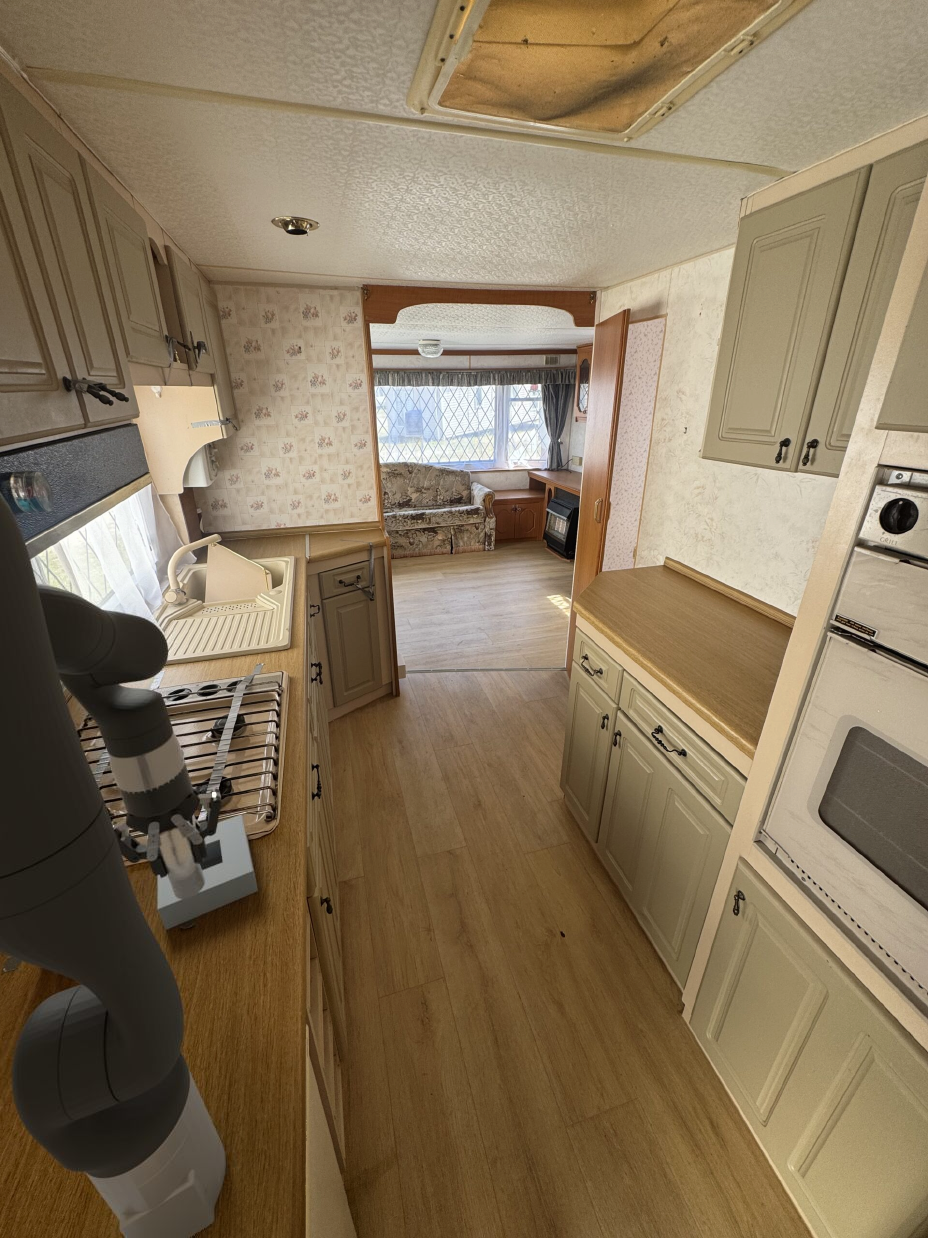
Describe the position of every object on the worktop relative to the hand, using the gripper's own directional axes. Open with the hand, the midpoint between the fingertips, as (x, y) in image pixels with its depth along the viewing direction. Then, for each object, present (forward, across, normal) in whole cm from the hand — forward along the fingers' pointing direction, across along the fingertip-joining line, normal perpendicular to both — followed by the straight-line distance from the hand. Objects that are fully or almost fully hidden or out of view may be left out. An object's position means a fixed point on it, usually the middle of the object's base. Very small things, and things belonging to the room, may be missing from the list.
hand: (182, 865), depth 70 cm
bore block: (+18, +1, +13) cm, 22 cm away
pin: (+4, 0, 0) cm, 4 cm away
